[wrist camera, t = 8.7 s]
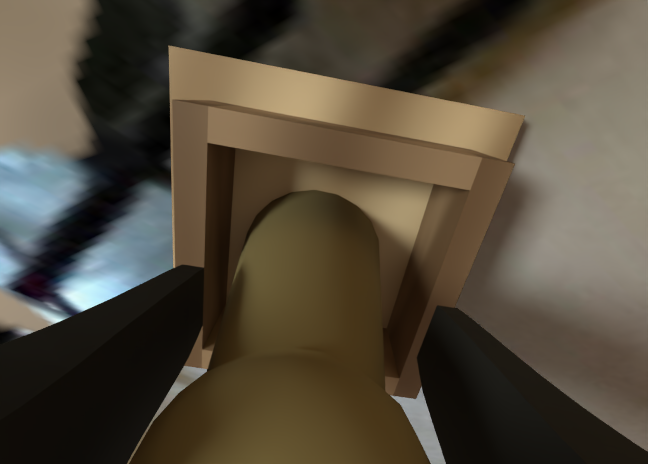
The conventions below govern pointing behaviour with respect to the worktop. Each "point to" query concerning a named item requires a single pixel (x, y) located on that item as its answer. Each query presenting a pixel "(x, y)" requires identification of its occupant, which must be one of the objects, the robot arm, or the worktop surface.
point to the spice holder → (334, 182)
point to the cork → (294, 352)
